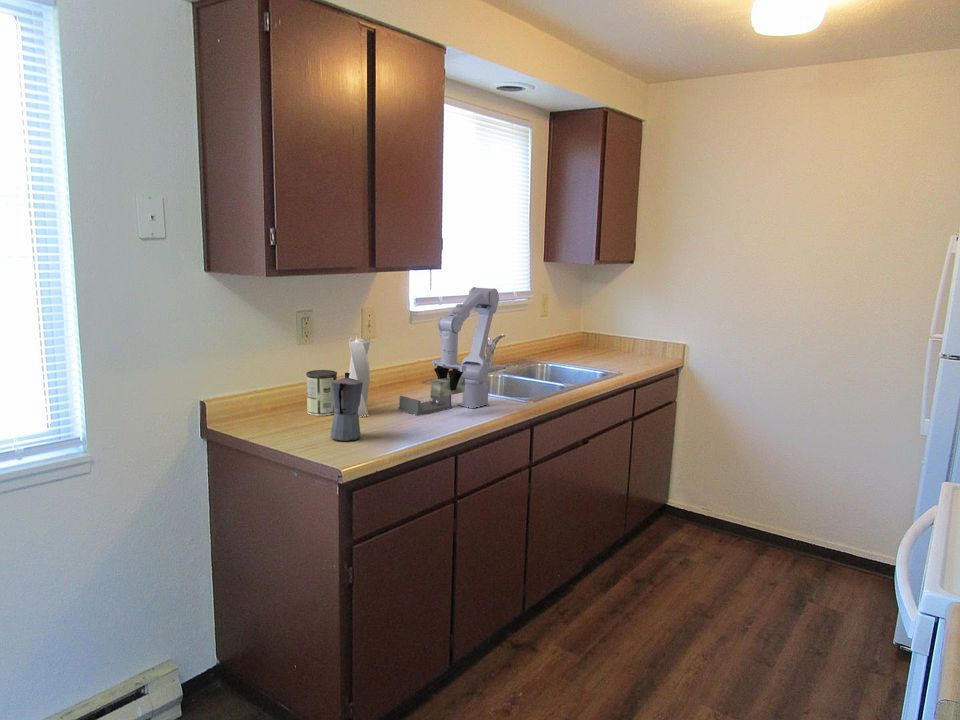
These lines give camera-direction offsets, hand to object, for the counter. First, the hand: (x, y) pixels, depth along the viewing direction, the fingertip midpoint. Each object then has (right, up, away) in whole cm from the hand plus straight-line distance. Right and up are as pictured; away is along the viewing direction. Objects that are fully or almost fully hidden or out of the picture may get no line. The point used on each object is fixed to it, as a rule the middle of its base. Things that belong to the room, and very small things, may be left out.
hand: (448, 389), depth 231 cm
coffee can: (-44, -8, 0) cm, 44 cm away
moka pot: (-29, -14, -30) cm, 44 cm away
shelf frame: (-9, -8, +9) cm, 15 cm away
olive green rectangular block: (0, -2, 0) cm, 2 cm away
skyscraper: (-31, -9, -1) cm, 32 cm away
